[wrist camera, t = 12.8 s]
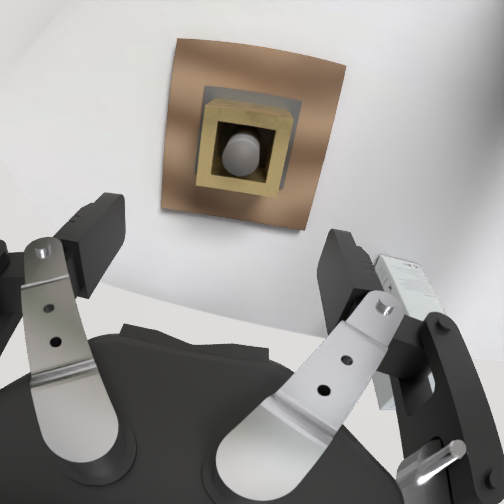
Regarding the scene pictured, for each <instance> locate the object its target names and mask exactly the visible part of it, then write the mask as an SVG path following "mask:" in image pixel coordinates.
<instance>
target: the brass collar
mask: <svg viewBox="0 0 504 504" xmlns="http://www.w3.org/2000/svg"><path fill="white" fill-rule="evenodd" d="M293 120H294V119H293V117H292V115H291V114H290V112H289V110H287V109H282V108H277V107H271V106H265V105H260V104H254V103H247V102H241V101H234V100H226V99H219V98H215V99H214V100H212V101H211V102H209V103H208V104H206V105H205V111H204V118H203V126H202V134H201V142H200V151H199V160H198V169H197V179H196V185H197V186H204V187H210V188H217V189H224V190H230V191H237V192H243V193H249V194H255V195H261V196H267V197H273V198H277V195H278V190H279V186H280V181H281V176H282V172H283V167H284V163H285V158H286V153H287V149H288V144H289V139H290V135H291V130H292V125H293ZM224 122H229V123H236V124H242V125H249V126H255V127H261V128H267V129H272V132H271V137H270V142H269V147H268V153H267V158H266V163H263V162H259V164H258V166H257V168H256V169H255V171H254V172H252V173H251V174H249V175H246V176H236V175H233V174H231V173H229V172H228V171H227V170H226V168H225V167H224V165H223V161H222V156H220V149H221V142H222V135H223V128H224Z"/></svg>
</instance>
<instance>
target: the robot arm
mask: <svg viewBox="0 0 504 504" xmlns="http://www.w3.org/2000/svg"><path fill="white" fill-rule="evenodd" d="M125 232H126V228H125V200H124V196H123V195H122V194H114V193H106V192H105V193H103V194H102V195H101V196H100V197H99V198H98V199H97V200H96V201H95V202H94V203H90V204H88V205H86V206H84V207H82V208H81V209H80V210H79V211H78V212H77V213H76V214H75V215H74V216H73V217H72V218H71V219H70V220H69V222H67V223H66V224H65V225H64V226H63V227H62V228H61V229H60V230H59V231H58V232H57V233H56V234H55V235H54V236H53V237H44V238H39V239H37V240H35V241H32V242H31V243H30V244H29V245H27V247H26V248H25V250H24V252H15V253H8V250H7V246H6V243H5V242H4V241H3V240H0V356H1V354H2V352H3V350H4V348H5V346H6V345H7V343H8V341H9V339H10V337H11V335H12V334H13V332H14V330H15V328H16V327H17V325H18V323H19V322H20V320H21V318H22V316H23V321H24V331H25V339H26V346H27V353H28V359H29V365H30V371H31V372H30V373H28V374H26V375H25V376H23V377H21V378H19V379H17V380H16V381H14V382H12V383H10V384H9V385H7V386H5V387H4V388H2V389H0V504H498V503H500V502H501V501H502V500H503V499H504V454H503V450H502V447H501V443H500V440H499V436H498V432H497V429H496V425H495V422H494V419H493V416H492V413H491V410H490V407H489V404H488V401H487V398H486V395H485V392H484V390H483V387H482V384H481V382H480V379H479V377H478V374H477V372H476V369H475V366H474V364H473V361H472V359H471V356H470V354H469V352H468V349H467V347H466V345H465V342H464V340H463V338H462V336H461V333H460V331H459V329H458V327H457V325H456V324H455V323H454V321H453V320H452V319H451V318H449V317H448V316H446V315H445V314H442V313H440V312H430V313H428V315H427V316H426V318H425V319H424V321H421V320H418V319H416V318H413V317H410V316H408V315H405V310H404V307H403V305H402V304H401V302H400V301H399V300H398V299H397V298H396V297H394V296H393V295H391V294H389V293H387V292H385V291H384V289H383V287H382V284H381V282H380V280H379V277H378V275H377V273H376V272H375V271H376V270H375V268H374V266H373V265H372V261H371V259H370V257H369V255H368V254H367V253H366V252H365V251H364V250H363V249H362V248H361V247H359V246H356V244H355V241H354V239H353V237H352V235H351V233H350V232H347V231H342V230H336V229H331V230H330V231H329V233H328V236H327V239H326V242H325V245H324V248H323V251H322V254H321V257H320V260H319V263H318V268H317V280H318V285H319V290H320V295H321V300H322V305H323V310H324V316H325V321H326V327H327V332H328V337H327V338H326V339H325V341H323V343H322V344H321V345H320V346H319V347H318V348H317V349H316V350H315V352H314V353H313V354H312V355H311V356H310V357H309V358H308V359H307V360H306V362H305V363H304V364H303V365H302V366H301V367H300V368H299V369H298V370H297V371H296V372H295V373H294V372H293V371H291V370H290V369H288V368H286V367H285V366H283V365H281V364H279V363H277V362H274V361H272V360H269V349H268V348H261V347H253V346H246V345H239V344H213V345H192V344H189V343H186V342H184V341H181V340H179V339H176V338H174V337H172V336H169V335H167V334H164V333H162V332H159V331H157V330H152V329H147V328H143V327H138V326H133V325H129V324H123V327H122V329H121V331H120V334H107V335H102V336H98V337H94V338H91V339H89V340H87V338H86V335H85V331H84V328H83V325H82V322H81V318H80V315H79V312H78V308H77V304H76V301H75V299H76V297H77V296H78V297H83V298H86V299H89V298H90V296H91V294H92V293H93V291H94V289H95V288H96V286H97V284H98V283H99V281H100V279H101V278H102V276H103V274H104V273H105V271H106V270H107V268H108V266H109V265H110V263H111V262H112V260H113V259H114V257H115V256H116V254H117V252H118V251H119V249H120V248H121V246H122V245H123V242H124V239H125ZM376 371H378V372H381V373H384V374H387V375H389V377H390V382H391V387H392V391H393V397H394V402H395V407H396V412H397V418H398V423H399V430H400V436H401V442H402V449H403V455H404V460H403V461H402V462H401V464H400V465H399V467H398V470H397V478H396V480H395V479H394V478H393V477H392V476H391V475H390V473H389V472H387V470H386V469H385V468H384V467H383V466H381V464H380V463H379V462H378V461H377V460H376V459H375V458H374V457H373V456H372V455H371V454H370V453H369V452H368V451H367V450H366V449H365V448H364V447H363V445H362V444H361V443H360V442H359V441H358V440H357V439H356V438H355V437H354V436H353V435H352V434H351V433H350V432H349V430H348V429H347V428H346V427H345V426H344V425H343V422H344V421H345V419H346V418H347V416H348V415H349V413H350V412H351V410H352V409H353V407H354V406H355V404H356V403H357V401H358V399H359V398H360V396H361V395H362V393H363V391H364V390H365V388H366V387H367V385H368V383H369V382H370V380H371V378H372V377H373V375H374V373H375V372H376ZM431 372H432V375H433V378H434V382H435V389H434V392H432V389H431V385H430V382H429V378H428V376H429V374H430V373H431Z"/></svg>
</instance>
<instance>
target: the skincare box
mask: <svg viewBox="0 0 504 504" xmlns="http://www.w3.org/2000/svg"><path fill="white" fill-rule="evenodd" d="M375 270H376V271H375V272H376V273H377V275H378V277H379V280H380V282H381V284H382V287H383V289H384V291H385V292H387V293H389V294H391V295H393V296H394V297H396V298H397V299H398V300H399V301H400V302H401V304H402V305H403V307H404V310H405V315H408V316H410V317H413V318H416V319H418V320H421V321H424V319H425V318H426V316H427V315H428V313H430V312H440V313H442V314H445V315H446V316H447V314H446V312H445V310H444V309H443V307H442V305H441V303H440V301H439V299H438V297H437V296H436V294H435V292H434V290H433V288H432V287H431V285H430V283H429V281H428V279H427V278H426V276H425V274H424V272H423V271H422V269H421V267H420V266H419V265H418V264H415V263H411V262H407V261H403V260H400V259H397V258H393V257H389V256H385V255H380V257H379V259H378V261H377V264H376V266H375ZM428 378H429V382H430V385H431V389H432V392H434V389H435V382H434V378H433V375H432V372H431V373H430V374H429V376H428ZM372 379H373V382H374V387H375V392H376V396H377V400H378V404H379V409H380V410H396V407H395V402H394V397H393V391H392V387H391V382H390V377H389V375H387V374H384V373H381V372H378V371H376V372H375V373H374V375H373V377H372Z"/></svg>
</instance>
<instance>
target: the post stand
mask: <svg viewBox="0 0 504 504" xmlns="http://www.w3.org/2000/svg"><path fill="white" fill-rule="evenodd" d="M345 70H346V66H345V65H342V64H338V63H334V62H331V61H327V60H323V59H319V58H315V57H310V56H306V55H301V54H297V53H292V52H287V51H282V50H277V49H271V48H265V47H259V46H252V45H246V44H238V43H230V42H221V41H210V40H198V39H180V38H177V44H176V51H175V57H174V65H173V72H172V80H171V88H170V96H169V105H168V115H167V125H166V137H165V149H164V164H163V181H162V202H161V208H166V209H173V210H180V211H186V212H193V213H200V214H206V215H213V216H219V217H225V218H232V219H238V220H244V221H250V222H256V223H262V224H268V225H274V226H280V227H286V228H292V229H298V230H303V231H305V228H306V224H307V221H308V217H309V213H310V210H311V206H312V203H313V199H314V195H315V192H316V188H317V184H318V180H319V177H320V173H321V169H322V165H323V161H324V157H325V154H326V150H327V146H328V142H329V138H330V134H331V130H332V126H333V122H334V117H335V113H336V109H337V105H338V101H339V96H340V92H341V88H342V83H343V79H344V75H345ZM215 98H219V99H226V100H234V101H241V102H247V103H254V104H260V105H265V106H271V107H277V108H282V109H287V110H289V112H290V114H291V115H292V117H293V119H294V120H293V125H292V130H291V135H290V139H289V144H288V149H287V153H286V158H285V163H284V167H283V172H282V176H281V181H280V186H279V190H278V195H277V198H273V197H267V196H261V195H255V194H249V193H243V192H237V191H230V190H224V189H217V188H210V187H204V186H197V185H196V179H197V169H198V160H199V151H200V142H201V134H202V126H203V118H204V111H205V105H206V104H208V103H209V102H211V101H212V100H214V99H215ZM271 132H272V129H267V128H261V127H255V126H249V125H242V124H236V123H229V122H224V128H223V135H222V142H221V149H220V156H222V161H223V165H224V167H225V168H226V170H227V171H228V172H229V173H231V174H233V175H236V176H246V175H249V174H251V173H252V172H254V171H255V169H256V168H257V166H258V164H259V162H263V163H266V158H267V153H268V147H269V142H270V137H271Z"/></svg>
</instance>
